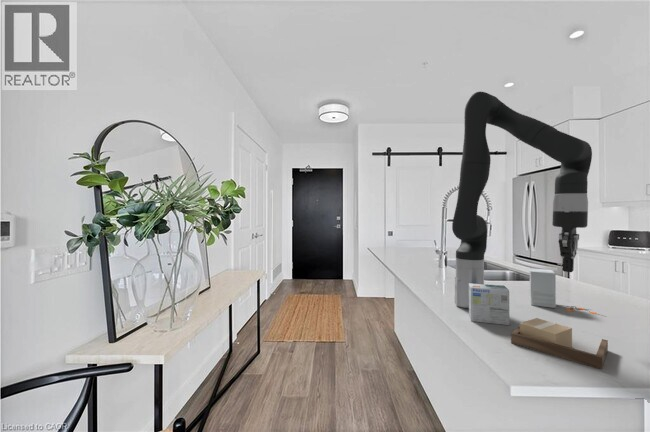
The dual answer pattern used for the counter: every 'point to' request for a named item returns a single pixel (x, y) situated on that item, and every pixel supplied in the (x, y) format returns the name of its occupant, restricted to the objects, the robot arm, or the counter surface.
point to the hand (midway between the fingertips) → (567, 271)
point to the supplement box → (543, 288)
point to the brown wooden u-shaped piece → (562, 350)
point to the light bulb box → (489, 303)
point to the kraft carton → (547, 331)
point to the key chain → (578, 309)
